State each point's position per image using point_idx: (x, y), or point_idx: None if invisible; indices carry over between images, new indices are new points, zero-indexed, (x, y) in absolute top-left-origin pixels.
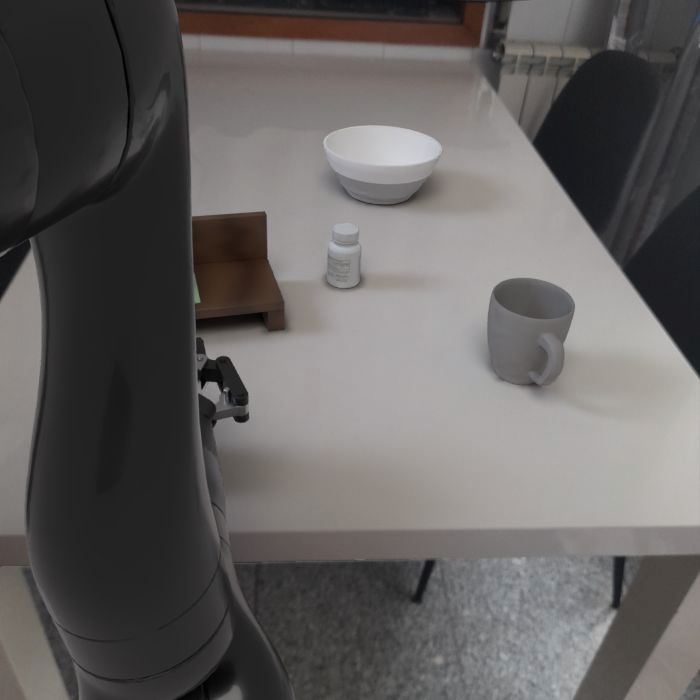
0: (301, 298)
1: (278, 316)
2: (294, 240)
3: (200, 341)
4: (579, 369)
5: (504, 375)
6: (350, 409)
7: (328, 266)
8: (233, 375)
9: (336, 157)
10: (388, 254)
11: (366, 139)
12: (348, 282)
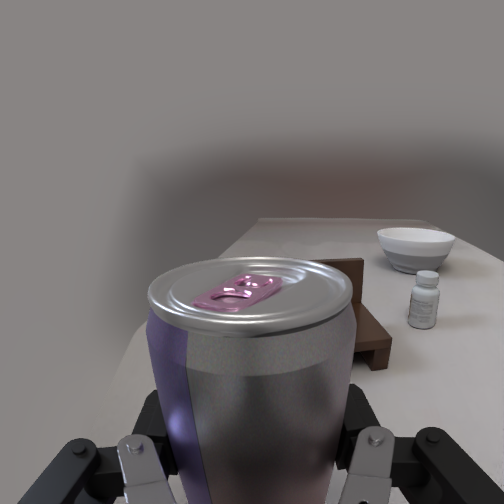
0: (392, 338)
1: (384, 354)
2: (369, 296)
3: (357, 393)
4: None
5: None
6: (485, 452)
7: (412, 309)
8: (476, 479)
9: (391, 239)
10: (443, 303)
11: (400, 236)
12: (429, 323)
